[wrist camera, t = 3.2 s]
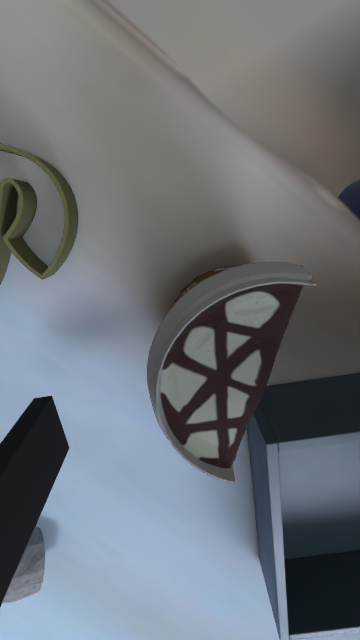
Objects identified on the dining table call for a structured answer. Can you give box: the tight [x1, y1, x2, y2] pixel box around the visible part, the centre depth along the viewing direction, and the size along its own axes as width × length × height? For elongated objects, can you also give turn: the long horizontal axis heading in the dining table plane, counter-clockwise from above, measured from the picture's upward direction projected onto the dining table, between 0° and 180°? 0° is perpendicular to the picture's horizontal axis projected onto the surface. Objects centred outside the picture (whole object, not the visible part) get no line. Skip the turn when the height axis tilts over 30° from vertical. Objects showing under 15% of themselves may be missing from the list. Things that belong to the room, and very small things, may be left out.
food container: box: [147, 262, 317, 484], centre depth 19 cm, size 12×6×10 cm, turn 165°
